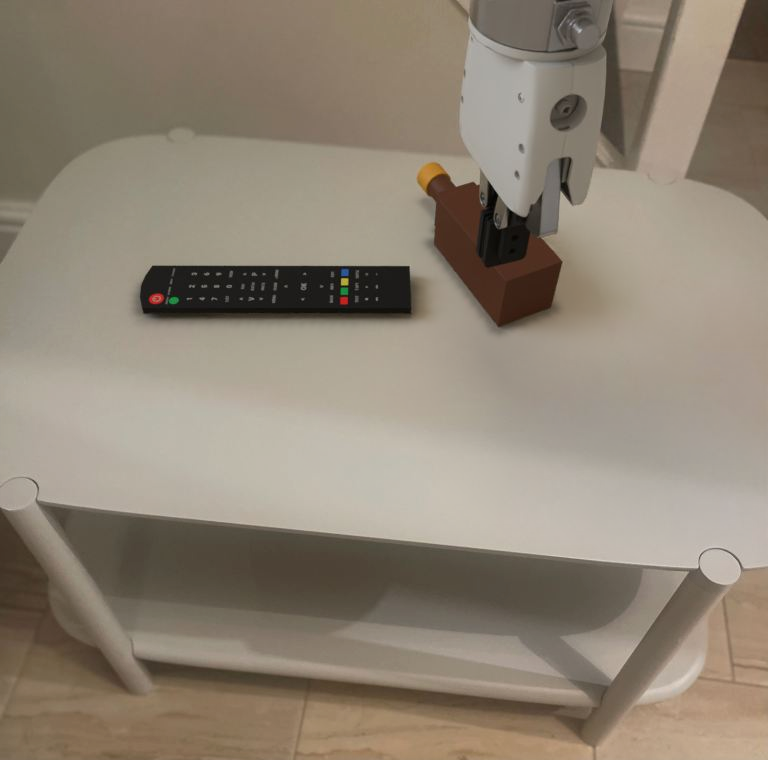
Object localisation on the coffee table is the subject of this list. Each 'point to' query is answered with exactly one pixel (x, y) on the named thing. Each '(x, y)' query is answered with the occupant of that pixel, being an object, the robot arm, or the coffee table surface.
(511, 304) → the bottle
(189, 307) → the remote control
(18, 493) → the coffee table surface
